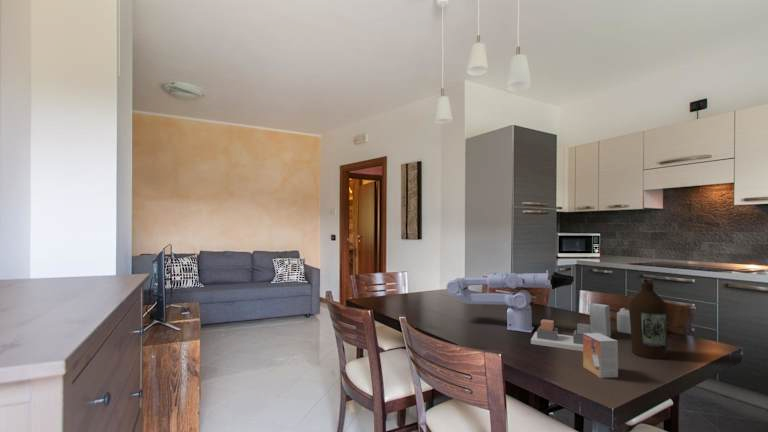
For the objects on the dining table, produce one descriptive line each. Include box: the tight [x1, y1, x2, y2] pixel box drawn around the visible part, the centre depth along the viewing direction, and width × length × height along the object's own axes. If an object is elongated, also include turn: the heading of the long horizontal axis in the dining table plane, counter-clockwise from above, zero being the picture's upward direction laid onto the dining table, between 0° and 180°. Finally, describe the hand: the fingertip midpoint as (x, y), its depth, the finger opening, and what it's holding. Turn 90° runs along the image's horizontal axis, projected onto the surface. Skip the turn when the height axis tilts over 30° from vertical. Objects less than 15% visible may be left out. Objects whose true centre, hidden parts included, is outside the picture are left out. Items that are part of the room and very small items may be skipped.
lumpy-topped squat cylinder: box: [616, 307, 631, 335], centre depth 153 cm, size 10×13×9 cm
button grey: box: [576, 323, 591, 335], centre depth 134 cm, size 4×4×4 cm
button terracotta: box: [540, 319, 555, 332], centre depth 140 cm, size 4×4×4 cm
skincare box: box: [588, 302, 612, 338], centre depth 146 cm, size 6×4×12 cm
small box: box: [582, 333, 619, 379], centre depth 110 cm, size 8×6×10 cm
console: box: [530, 325, 593, 352], centre depth 137 cm, size 22×12×4 cm, turn 60°
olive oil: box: [628, 278, 668, 360], centre depth 125 cm, size 11×11×25 cm
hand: (572, 280), depth 146 cm, fingers open, 7 cm apart
